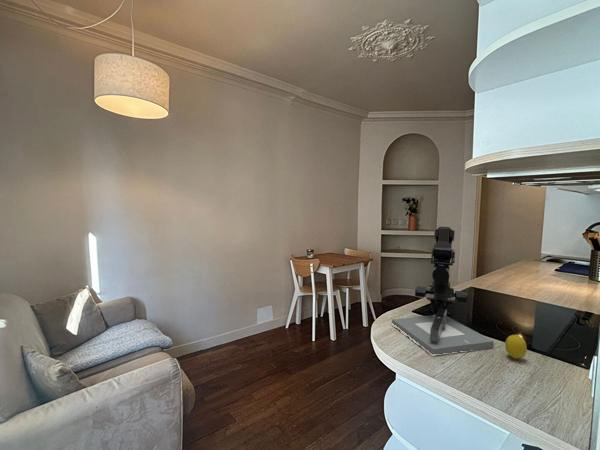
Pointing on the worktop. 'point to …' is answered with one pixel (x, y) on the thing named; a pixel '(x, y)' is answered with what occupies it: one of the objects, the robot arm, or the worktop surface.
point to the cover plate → (443, 335)
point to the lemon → (516, 346)
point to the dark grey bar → (438, 323)
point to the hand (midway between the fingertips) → (439, 314)
